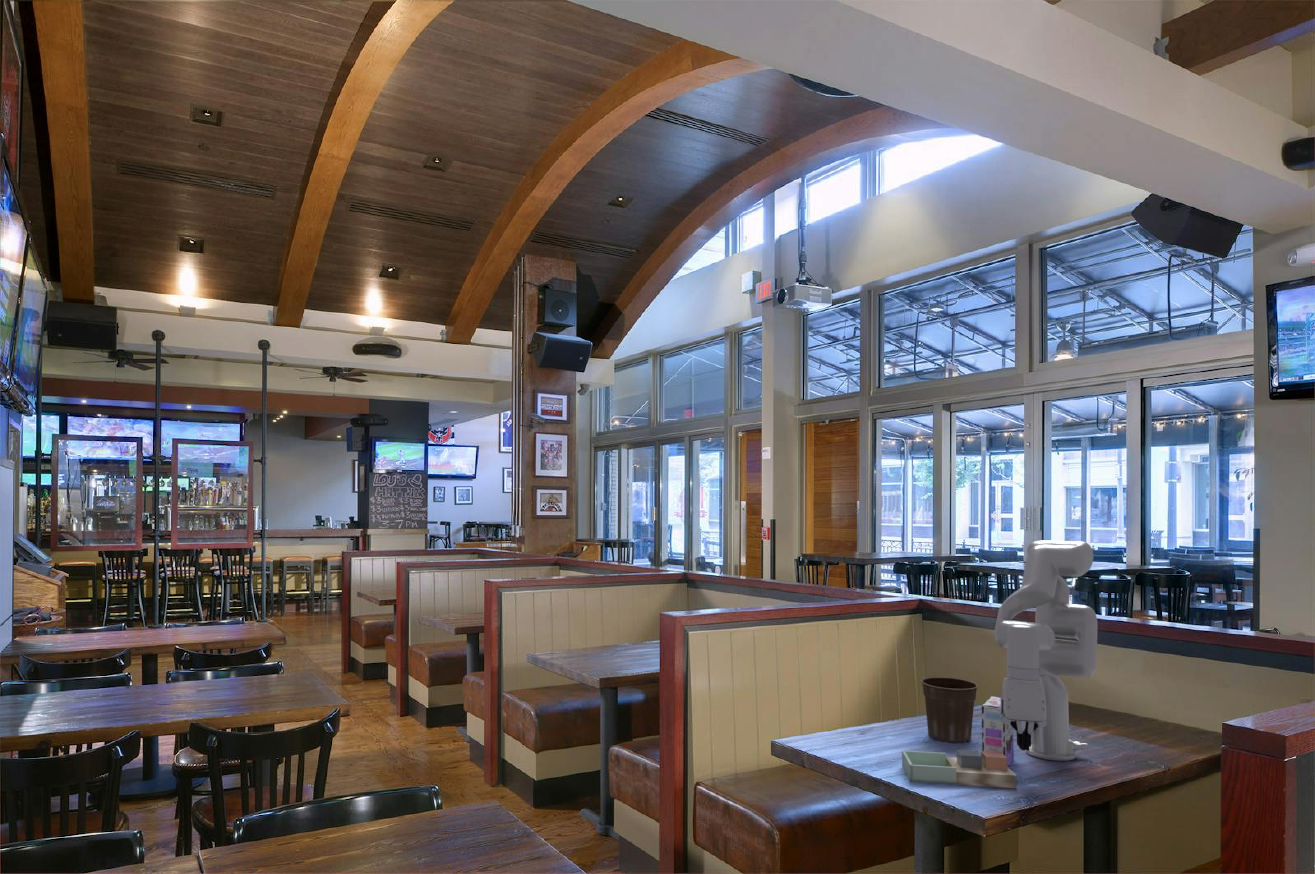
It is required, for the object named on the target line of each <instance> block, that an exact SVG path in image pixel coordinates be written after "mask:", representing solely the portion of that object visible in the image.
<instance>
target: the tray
mask: <svg viewBox="0 0 1315 874" xmlns="http://www.w3.org/2000/svg"><path fill="white" fill-rule="evenodd" d="M901 751H902V752H901V759H902V762H901V764H902V765H901V766H902V769H903V770H904V772H905V775H906V776H907V777H908V780H909V782H911V783H922V784H923V783H924V784H938V785H939V784H941V785H955V786H958V785H957V777H956V767H946V757H947V753H946V752H937V751H936V752H935V751H916V750H901Z"/></svg>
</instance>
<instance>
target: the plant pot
mask: <svg viewBox="0 0 1315 874" xmlns="http://www.w3.org/2000/svg"><path fill="white" fill-rule="evenodd" d="M920 683H921V684H922V691H923V696H924V701H925V711H926V722H927V723H926V724H927V734H928V736H929V738H931V739H933V740H936V739H937V740H938V741H939V742H945V743H949V744H950V743H951V744H958V743H959V744H962V743H966V742H970V741H971V740H972V730H973V720H974V719H973V717H974V709H975V701H976V699H977V690H978V688H979V685H978V683H976V682H974V681H971V680H966V679H962V678H955V677H942V676H941V677H939V676H936V677H935V676H934V677H933V676H932V677H924V678H922V679H921V680H920Z"/></svg>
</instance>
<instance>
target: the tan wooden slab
mask: <svg viewBox="0 0 1315 874" xmlns="http://www.w3.org/2000/svg"><path fill="white" fill-rule="evenodd" d="M946 767H956V777H957V785H956V786H973V787H974V786H975V787H988V788H989V787H990V788H993V787H994V788H1004V789H1005V788H1007V789H1008V788H1009V789H1017V775H1016V774H1015V773H1014V771H1013V770H1011V768H1010V766H1009V767H1008V766H1007V770H994V769H986V768H985V767H984V766H983V765H982V769H976V768H961V767H960V765H959V764H958V763H957V756H956V757H955V756H954V757H953V756H946Z"/></svg>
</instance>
